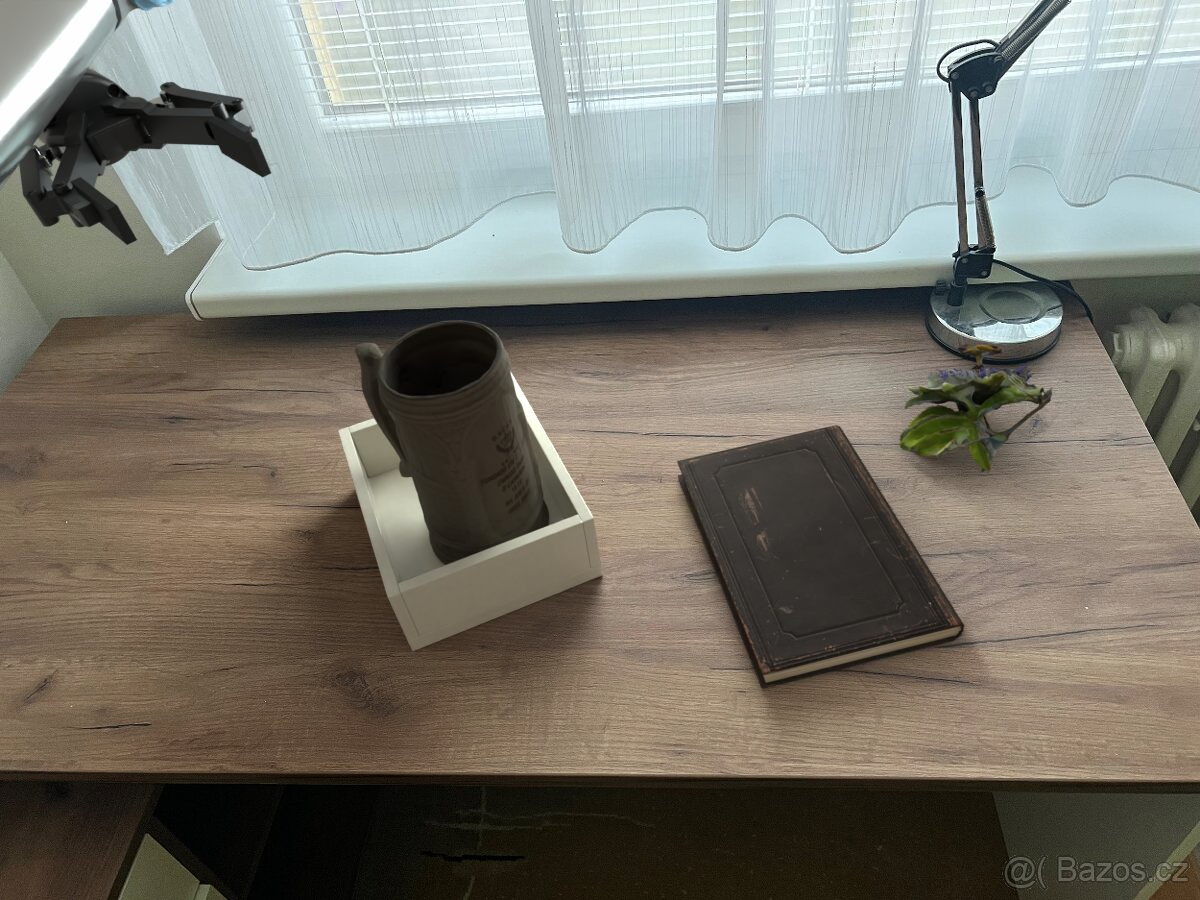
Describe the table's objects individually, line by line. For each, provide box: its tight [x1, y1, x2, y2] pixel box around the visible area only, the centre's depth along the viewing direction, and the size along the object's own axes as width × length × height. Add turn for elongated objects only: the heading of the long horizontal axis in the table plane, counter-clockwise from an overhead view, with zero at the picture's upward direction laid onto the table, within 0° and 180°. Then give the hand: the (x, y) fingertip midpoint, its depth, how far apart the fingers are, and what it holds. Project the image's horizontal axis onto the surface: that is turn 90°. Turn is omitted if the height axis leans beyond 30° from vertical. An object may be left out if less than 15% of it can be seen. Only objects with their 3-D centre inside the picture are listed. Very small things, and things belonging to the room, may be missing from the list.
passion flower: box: [899, 343, 1053, 473], centre depth 79 cm, size 11×11×12 cm
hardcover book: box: [676, 424, 965, 689], centre depth 74 cm, size 16×23×2 cm
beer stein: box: [354, 319, 549, 565], centre depth 72 cm, size 15×11×20 cm
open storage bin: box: [337, 372, 604, 652], centre depth 78 cm, size 17×21×8 cm
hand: (193, 190), depth 61 cm, fingers open, 10 cm apart
